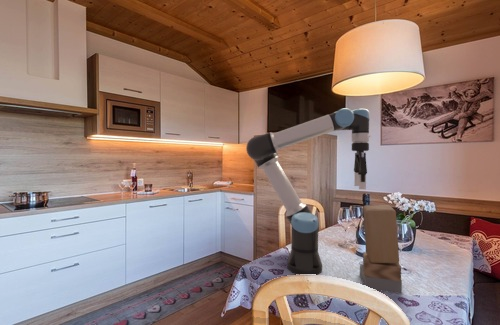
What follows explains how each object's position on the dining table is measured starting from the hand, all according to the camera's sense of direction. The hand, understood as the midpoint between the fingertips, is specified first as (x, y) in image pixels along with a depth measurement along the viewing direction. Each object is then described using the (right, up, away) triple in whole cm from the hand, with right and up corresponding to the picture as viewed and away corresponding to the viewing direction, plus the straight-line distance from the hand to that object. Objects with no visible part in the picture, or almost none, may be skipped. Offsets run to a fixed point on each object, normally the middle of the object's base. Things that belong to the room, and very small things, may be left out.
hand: (359, 187), depth 125 cm
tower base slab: (-2, -36, -22) cm, 42 cm away
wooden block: (-1, -25, -23) cm, 34 cm away
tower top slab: (-1, -31, -22) cm, 38 cm away
